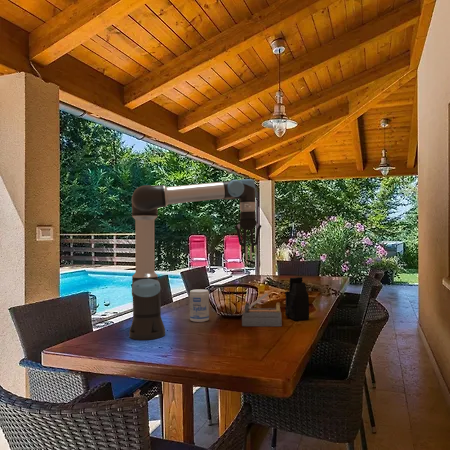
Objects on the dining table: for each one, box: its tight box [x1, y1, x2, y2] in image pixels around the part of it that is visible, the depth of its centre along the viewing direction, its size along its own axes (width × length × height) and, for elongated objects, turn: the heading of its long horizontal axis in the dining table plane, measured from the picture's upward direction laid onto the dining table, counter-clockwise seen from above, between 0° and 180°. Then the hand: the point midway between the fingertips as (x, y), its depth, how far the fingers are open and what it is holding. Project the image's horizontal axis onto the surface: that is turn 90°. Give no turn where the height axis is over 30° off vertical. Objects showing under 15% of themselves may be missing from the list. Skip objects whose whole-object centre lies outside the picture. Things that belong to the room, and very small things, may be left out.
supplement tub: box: [189, 288, 210, 323], centre depth 208 cm, size 10×10×15 cm
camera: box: [284, 277, 310, 322], centre depth 208 cm, size 10×14×20 cm
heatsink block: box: [241, 302, 283, 327], centre depth 199 cm, size 18×12×9 cm, turn 83°
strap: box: [248, 288, 274, 309], centre depth 199 cm, size 16×4×1 cm
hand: (248, 259), depth 205 cm, fingers closed
